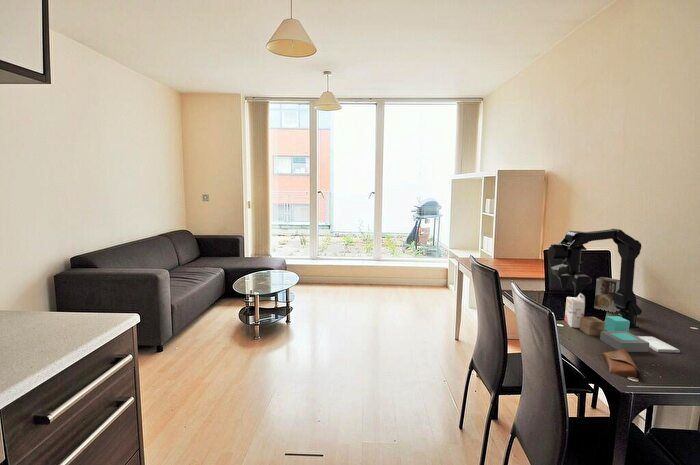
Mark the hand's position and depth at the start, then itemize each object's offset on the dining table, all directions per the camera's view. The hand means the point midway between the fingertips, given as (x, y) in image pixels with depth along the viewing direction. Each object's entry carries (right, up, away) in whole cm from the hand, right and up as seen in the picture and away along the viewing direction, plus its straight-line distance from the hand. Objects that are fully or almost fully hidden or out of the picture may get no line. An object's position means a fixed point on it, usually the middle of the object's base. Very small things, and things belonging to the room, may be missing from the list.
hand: (569, 293), depth 164 cm
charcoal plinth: (+9, -18, -20) cm, 28 cm away
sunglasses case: (-4, -20, -36) cm, 41 cm away
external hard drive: (+23, -18, -19) cm, 35 cm away
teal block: (+17, -16, -5) cm, 24 cm away
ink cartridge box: (+3, -15, +2) cm, 15 cm away
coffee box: (+33, -13, +24) cm, 43 cm away
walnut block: (+5, -16, -7) cm, 18 cm away
